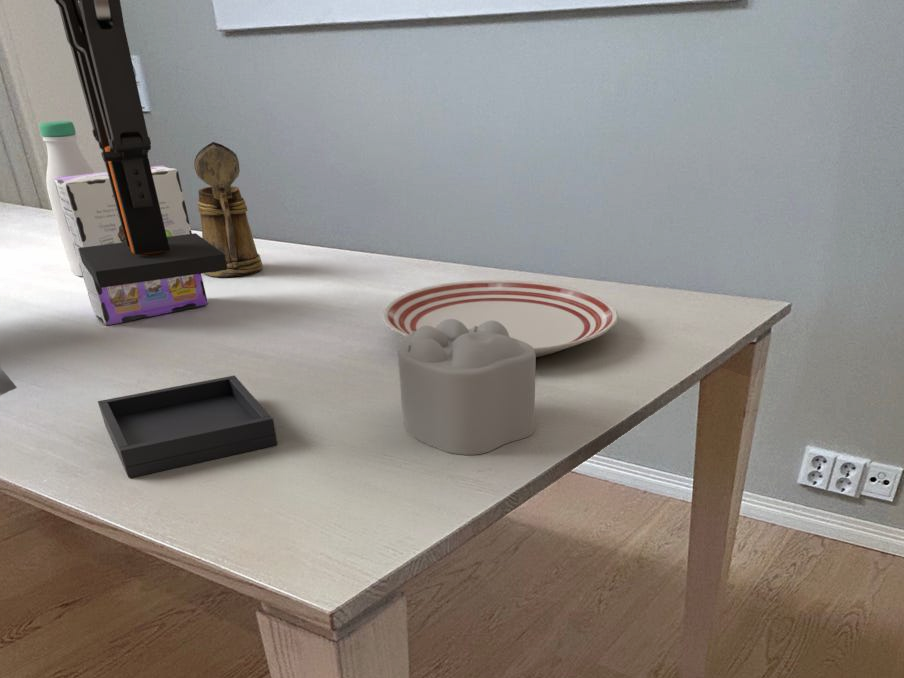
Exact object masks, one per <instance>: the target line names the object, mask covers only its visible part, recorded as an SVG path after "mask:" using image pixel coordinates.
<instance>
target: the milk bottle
mask: <svg viewBox="0 0 904 678" xmlns="http://www.w3.org/2000/svg"><path fill="white" fill-rule="evenodd" d="M38 129H39V132H40V134H41V136H42V141H43V142H45V145H46V149H47V166H46V177H45V180H46V181H45V182H46V183H45V184H46V190H47V194H48V198H49V202H50V207H51V209H52V213H53V216H54V219H55V223H56V225H57V230H58V233H59V236H60V239H61V242H62V246H63V249H64V253H65V255H66V258H67V262H68V265H69V268H70V271H71V273H72V274H73V275H74V276H77V277H83V275H82V271H81V268H80V265H79V262H78V258H77V255H76V251H75V248H74V245H73V241H72V238H71V234H70V231H69V228H68V225H67V221H66V218H65V215H64V211H63V208H62V205H61V201H60V198H59V195H58V191H57V188H56V185H55V181H54V178H61V177H69V176H77V175H85V174H92V173H95V171H94V169H93V168H92V167H91V166H90V164H89V163H88V162H87V161H88V160H86V158H85V156H84V155H83V153H82V151H81V150H80V148H79V145H78V142H77V140H78V137H77V132H76V128H75V124H74V122H72V120H71V121H70V120H54V121H45V122H40V123H39V124H38Z"/></svg>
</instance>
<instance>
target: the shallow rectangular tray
mask: <svg viewBox="0 0 904 678" xmlns="http://www.w3.org/2000/svg"><path fill="white" fill-rule="evenodd" d="M97 404H98V407H99V410H100V414H101V417H102V420H103V423H104V426H105V429H106V431H107V433H108V435H109V438H110V440H111V443H112V444H113V447H114V449H115V451H116V453H117V456H118V458H119V460H120V462H121V464H122V467H123V469H124V472H125V473H126V476H127V477H128V479H131V478H135V477H140V476H144V475H149V474H153V473H159V472H162V471H167V470H172V469H176V468H181V467H186V466H190V465H193V464H198V463H204V462H208V461H212V460H216V459H221V458H224V457H230V456H233V455H234V456H235V455H238V454H239V455H240V454H242V453H243V454H244V453H246V452H251V451H255V450H261V449H265V448H269V447H274V446H277V445H278V444H279V442H278V437H277V431H276V427H275V421H274V418H273V417H272V416H271V415H270V413H269V412H268V411H267V410H266V409H265V407H263V405H262V404H261V403H260V402H259V401H258V400H257V399H256V398H255V396H254V395H253V394H252V393H251V392H250V391H249V390H248V389H247V388H246V387H245V386H244V384H243V383H242V382H241V381H240V380H239V379H238V378H237V376H236V375H229V376H224V377H223V376H222V377H219V378H213V379H208V380H202V381H198V382H191V383H187V384H182V385H176V386H170V387H166V388H160V389H155V390H150V391H143V392H138V393H135V394H133V393H132V394H129V395H123V396H118V397H112V398H108V399H107V398H106V399H102V400H98V401H97ZM278 446H279V445H278Z"/></svg>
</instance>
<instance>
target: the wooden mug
mask: <svg viewBox="0 0 904 678" xmlns="http://www.w3.org/2000/svg"><path fill="white" fill-rule="evenodd" d="M194 169H195V173H196V175H197V177H198V179H200V180H201V181H202V182H203V183H205V184H206V185H208V186H205V187H203V188H200V189H198V200H197V208H198V210H197V211H198V213H199V214H200V225H201V238H203V239H204V240H206V241H207V242H208V243H210V244H211V245H213V246H214V247H215V248H217V249H218V250H219V251H221V252H222V253H224V254H225V258H226V263H227V270H222V271H215V272H208V273H203V274H204V275H207V276H209V277H214V278H215V277H216V278H235V277H243V276H248V275H252V274H256V273H258V272H260V271H261V270H262V269H263V268H264V266H263V262H262V258H261V255H260V254H259V253H258V251H257V247H256V244H255V240H254V236H253V233H252V230H251V226H250V223H249V219H248V215H247V212H248V207H247V203H246V201H245V199H244V198H243V197H242V193H241V191H240V189H239V187H238V186H233V183H234V182H235V181H236V180H237V178H238V177H239V175H240V161H239V159H238V156H237V154H236V153H235V152H234V150H232V149H230V148H229V147H227V146H225V145H223V144H221V143H218V142H215V141H212V142H210V143H209V144H207V145H205V146H204V147H203V148H201V149H200V150H199V151H198V153H197V154H196V155H195V158H194Z"/></svg>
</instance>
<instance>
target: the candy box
mask: <svg viewBox="0 0 904 678" xmlns="http://www.w3.org/2000/svg"><path fill="white" fill-rule="evenodd" d="M150 167H151V172H152V176H153V180H154V184H155V189H156V193H157V197H158V201H159V206H160V210H161V214H162V218H163V223H164V227H165V231H166V235H167V237H170V236H178V235H186V234H193V233H192V228H191V227H192V226H191V224H190V219H189V214H188V210H187V205H186V201H185V198H184V192H183V189H182V183H181V179H180V173H179V170H178V168H173V167H170V166H166V165H163V164H161V165H154V166H153V165H152V166H150ZM54 181H55V185H56V188H57V191H58V195H59V198H60V201H61V205H62V208H63V211H64V215H65V218H66V221H67V225H68V228H69V231H70V234H71V238H72V241H73V245H74V248H75V251H76V255H77V258H78V262H79V265H80V268H81V271H82V275H83V276H82V277H83V278H82V279H83V281H84V285H85V288H86V291H87V296H88V299H89V301H90V305H91V308H92V312H93V315H94V316H95V317H96V318H97V319H98V320H99V321H101V322H102V324H103V325H105V326H112V325H116V324H117V325H118V324H122V323H125V322H129V321H136V320H141V319H146V318H149V317H150V318H151V317H155V316H160V315H164V314H165V315H166V314H169V313H174V312H179V311H183V310H188V309H194V308H198V307H201V306H206V305H208V304H209V303H208V297H207V293H206V289H205V285H204V280H203V276H202V273H201V274H194V275H187V276H181V277H174V278H167V279H160V280H153V281H146V282H139V283H132V284H125V285H118V286H111V287H104V288H100V287H99V286H98V284H97V283H96V281H95V280H94V279H93V277H92V276H91V274H90V273H89V271H88V270H87V268H86V267H85V266H84V264H83V263H82V260H81V256H80V253H79V250H78V248H82V247H90V246H98V245H106V244H114V243H122V242H126V241H125V237H124V233H123V229H122V226H121V222H120V218H119V214H118V210H117V207H116V203H115V199H114V195H113V191H112V188H111V184H110V180H109V176H108V172H107V171H101V172H94V173H92V174H85V175H77V176H69V177H61V178H54Z"/></svg>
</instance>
